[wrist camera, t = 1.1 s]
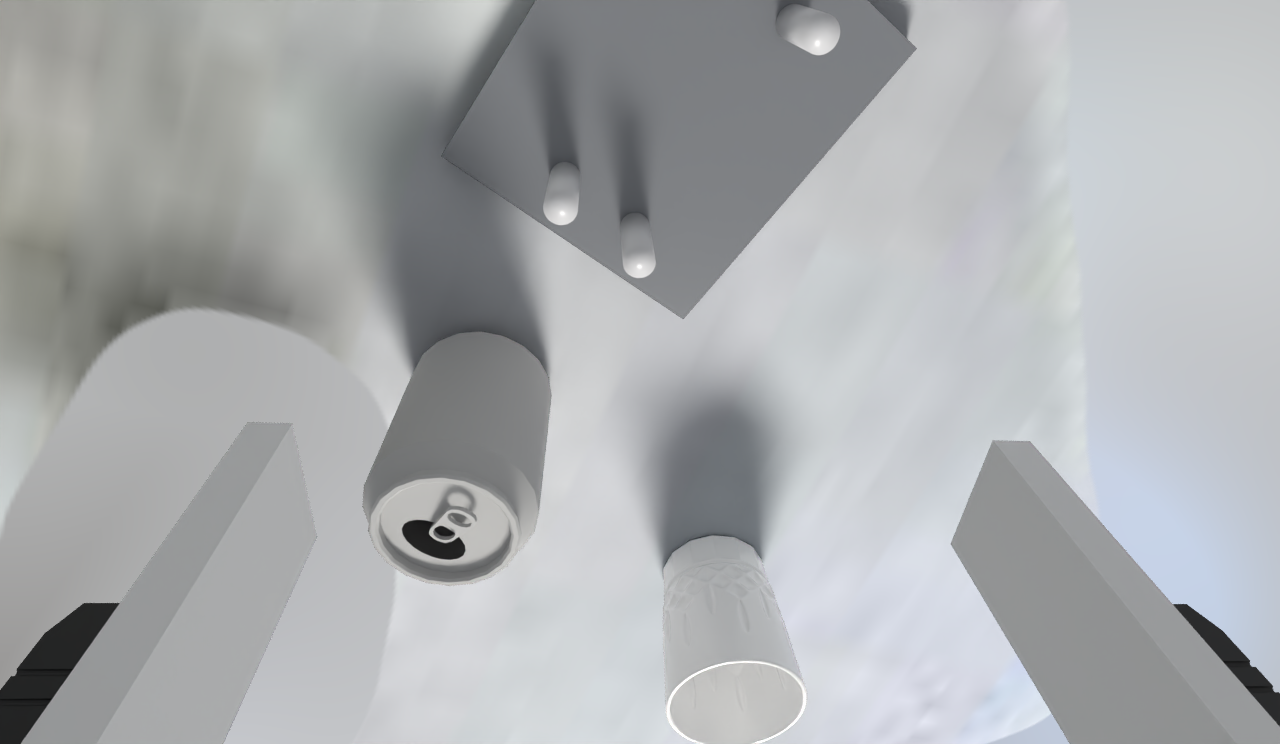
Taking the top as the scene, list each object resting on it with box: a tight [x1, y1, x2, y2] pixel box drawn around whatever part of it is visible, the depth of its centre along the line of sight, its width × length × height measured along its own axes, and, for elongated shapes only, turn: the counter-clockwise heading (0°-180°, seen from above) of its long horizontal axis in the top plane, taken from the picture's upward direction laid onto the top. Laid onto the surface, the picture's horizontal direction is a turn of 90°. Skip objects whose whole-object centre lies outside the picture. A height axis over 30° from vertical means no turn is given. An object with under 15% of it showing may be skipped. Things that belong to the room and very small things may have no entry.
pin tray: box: [441, 0, 917, 319], centre depth 30 cm, size 14×16×6 cm
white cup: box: [663, 535, 807, 744], centre depth 44 cm, size 8×8×10 cm
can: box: [363, 331, 552, 586], centre depth 35 cm, size 8×8×12 cm
